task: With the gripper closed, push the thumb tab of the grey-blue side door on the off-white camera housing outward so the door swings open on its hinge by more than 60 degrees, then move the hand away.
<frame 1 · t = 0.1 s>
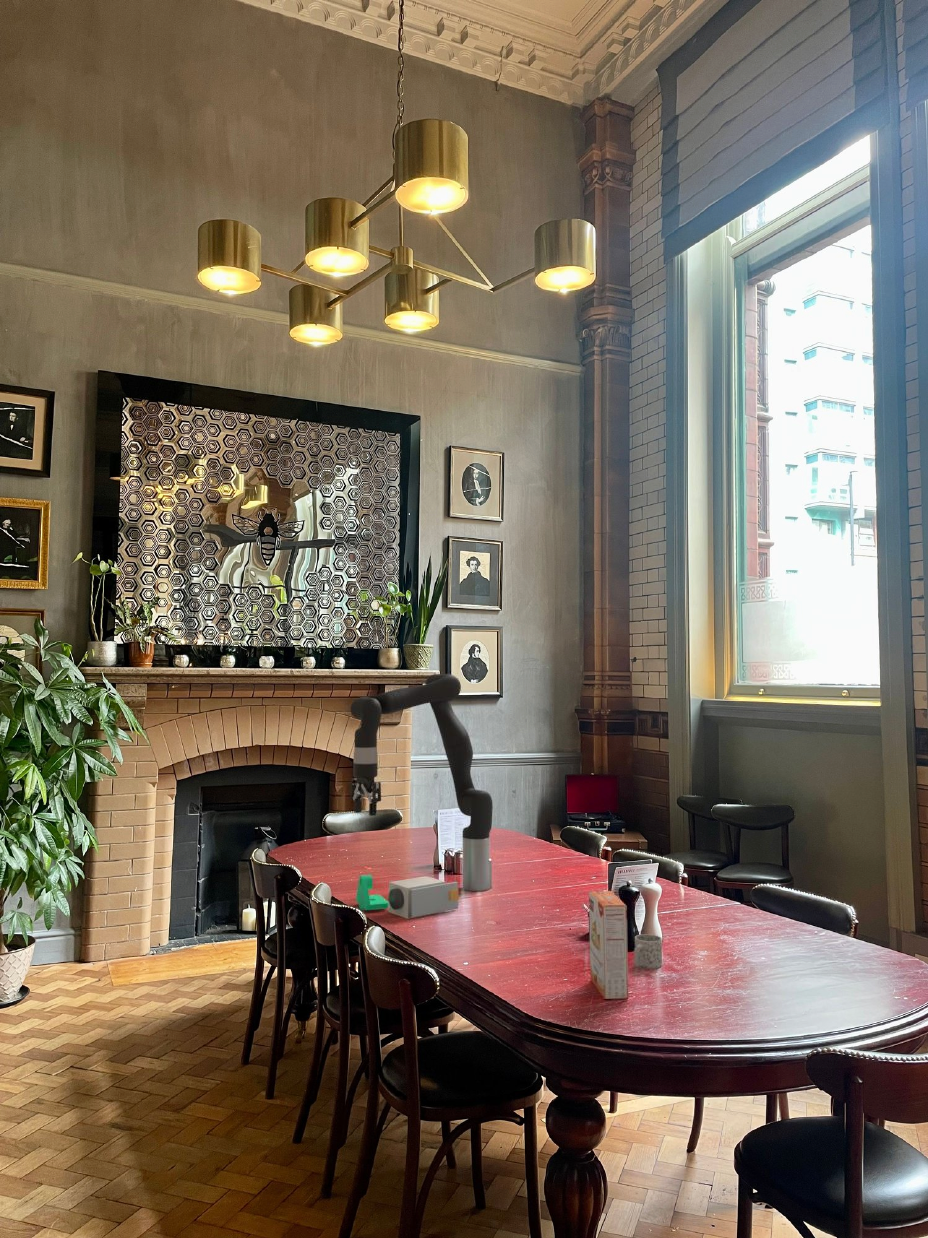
hand: (365, 814, 287), 29 cm above the table, tool pointing down, fingers open, 8 cm apart
camera housing: (417, 911, 282), on the table
mug: (645, 967, 229), on the table
side door: (434, 899, 279), point 4 cm above the table, hinge at 0.0°
cracker box: (608, 990, 211), on the table
camera mount: (372, 909, 287), on the table
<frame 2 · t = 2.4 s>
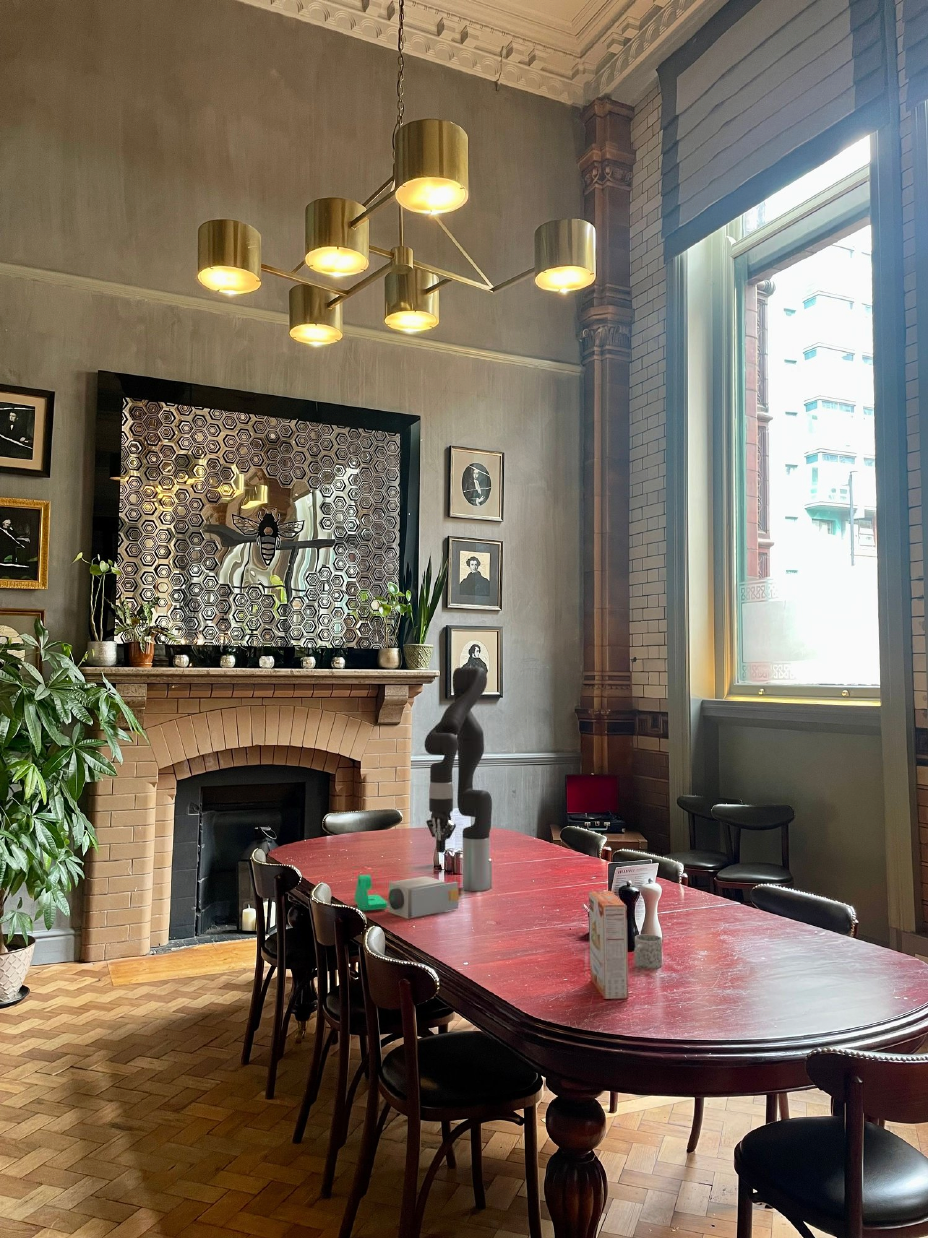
hand: (440, 852, 289), 17 cm above the table, tool pointing down, fingers closed
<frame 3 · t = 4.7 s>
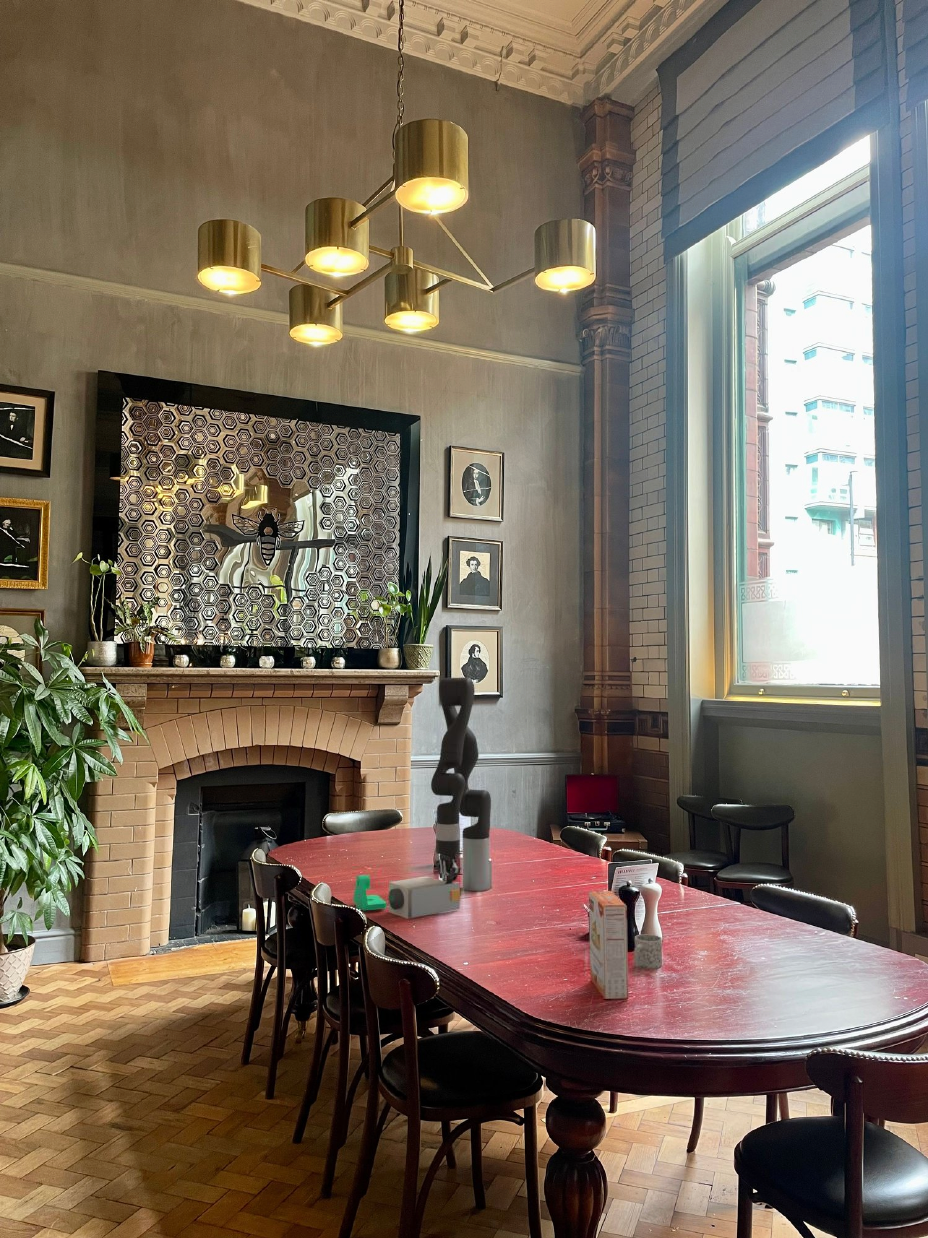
hand: (447, 894, 286), 5 cm above the table, tool pointing down, fingers closed
side door: (435, 900, 278), point 4 cm above the table, hinge at 2.6°, touching gripper
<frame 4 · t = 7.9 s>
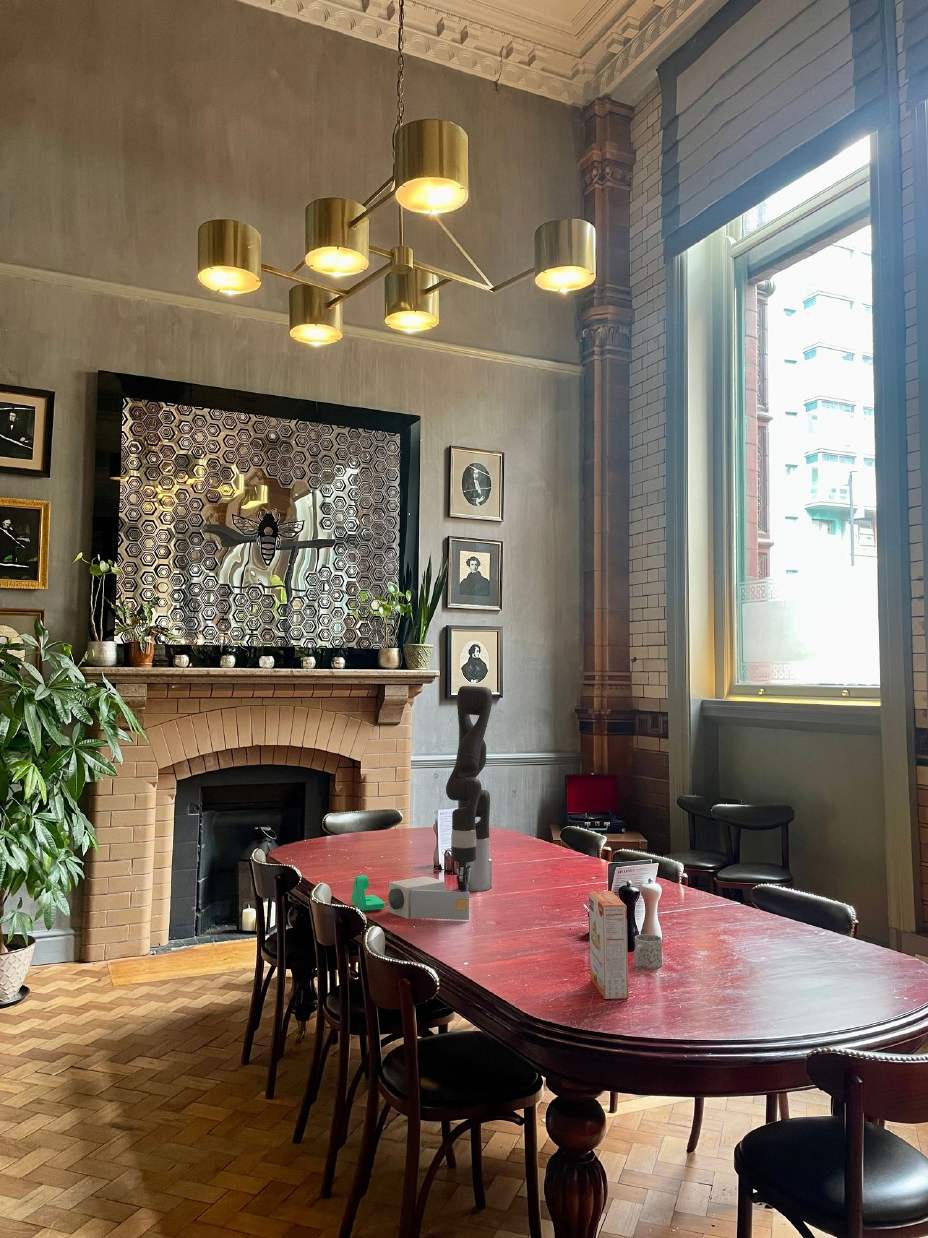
hand: (463, 902, 275), 5 cm above the table, tool pointing down, fingers closed
side door: (438, 905, 272), point 4 cm above the table, hinge at 47.5°, touching gripper
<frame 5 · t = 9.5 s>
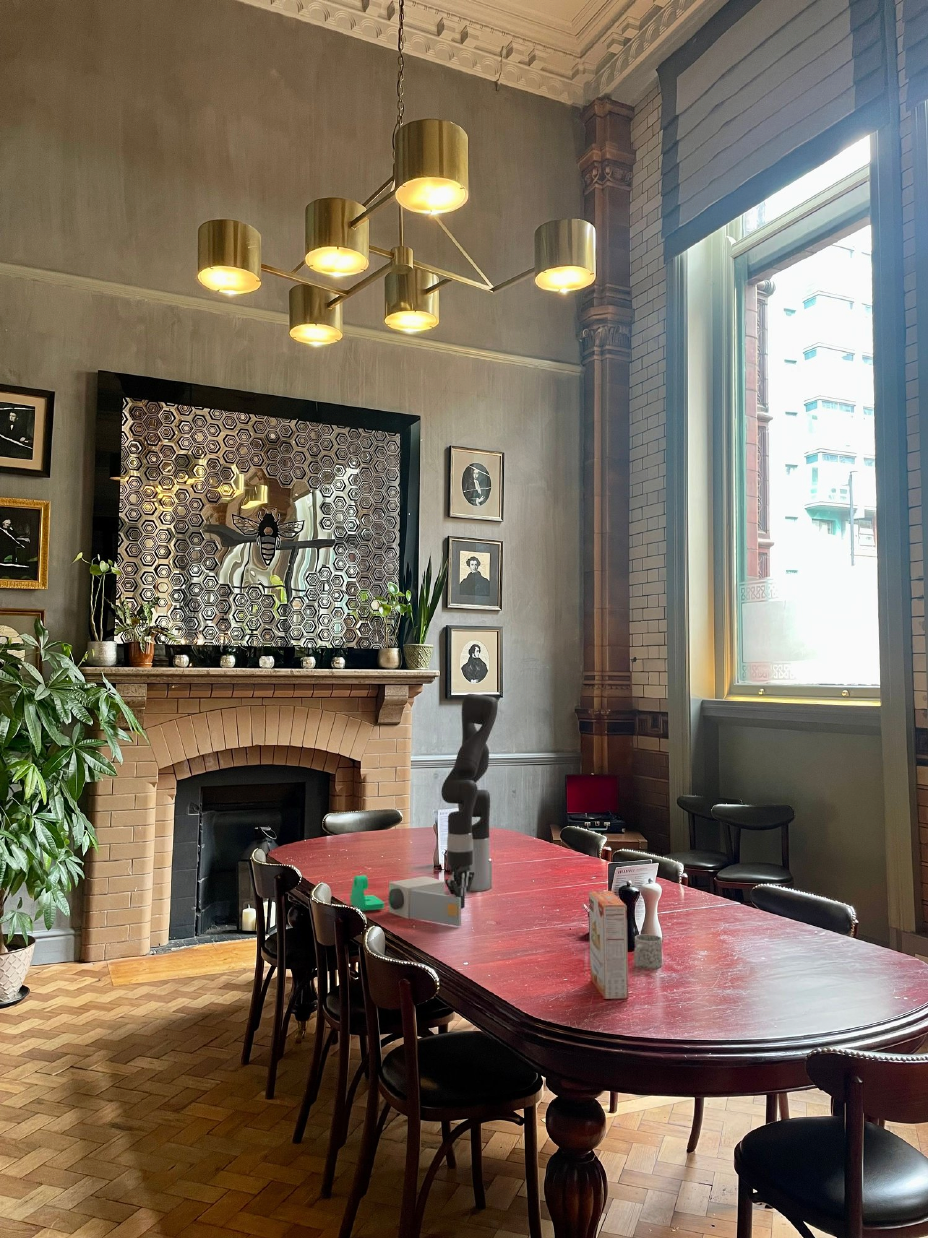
hand: (460, 908, 268), 5 cm above the table, tool pointing down, fingers closed
side door: (433, 908, 269), point 4 cm above the table, hinge at 71.8°, touching gripper
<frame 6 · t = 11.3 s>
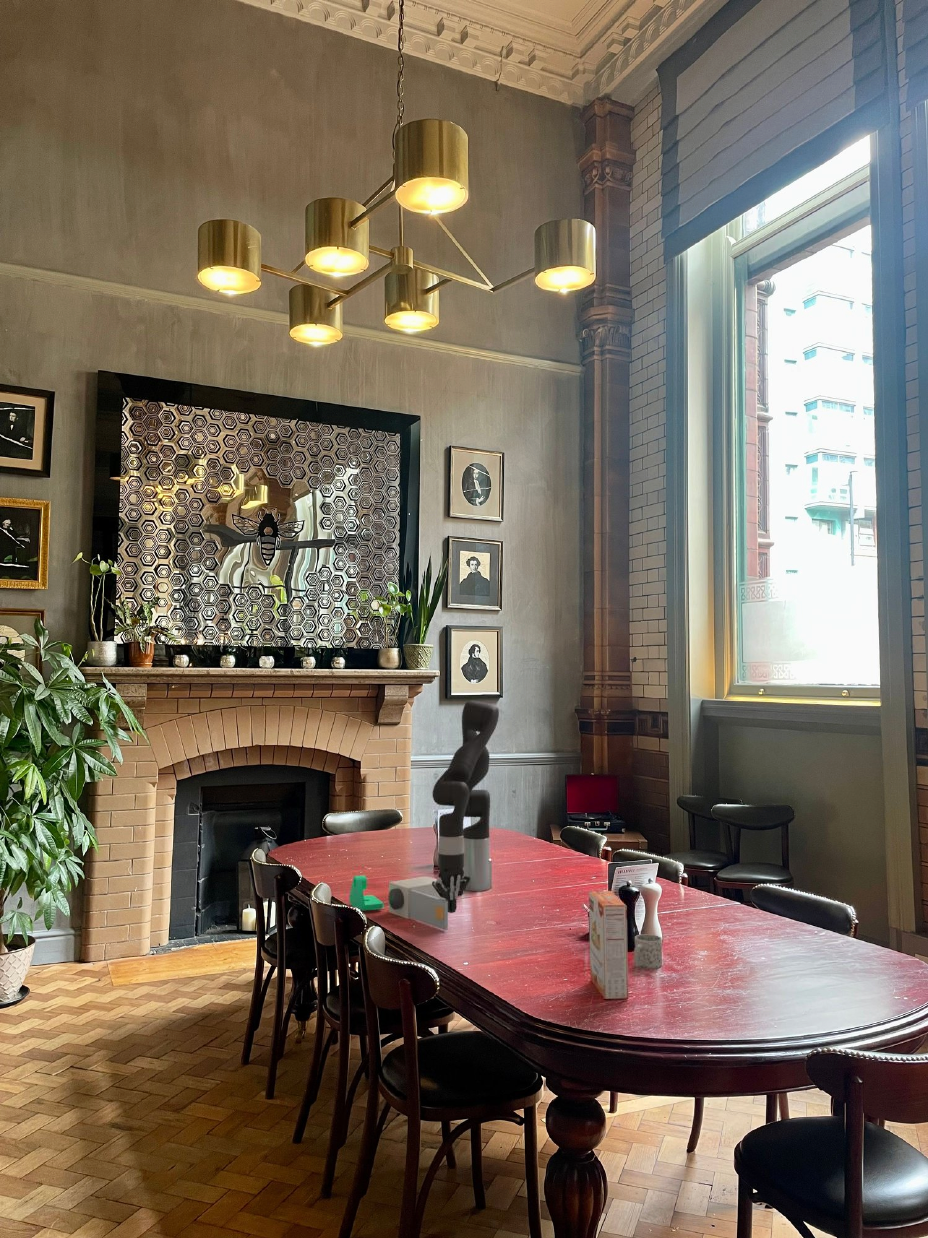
hand: (451, 912, 264), 5 cm above the table, tool pointing down, fingers closed
side door: (426, 909, 267), point 4 cm above the table, hinge at 90.5°, touching gripper
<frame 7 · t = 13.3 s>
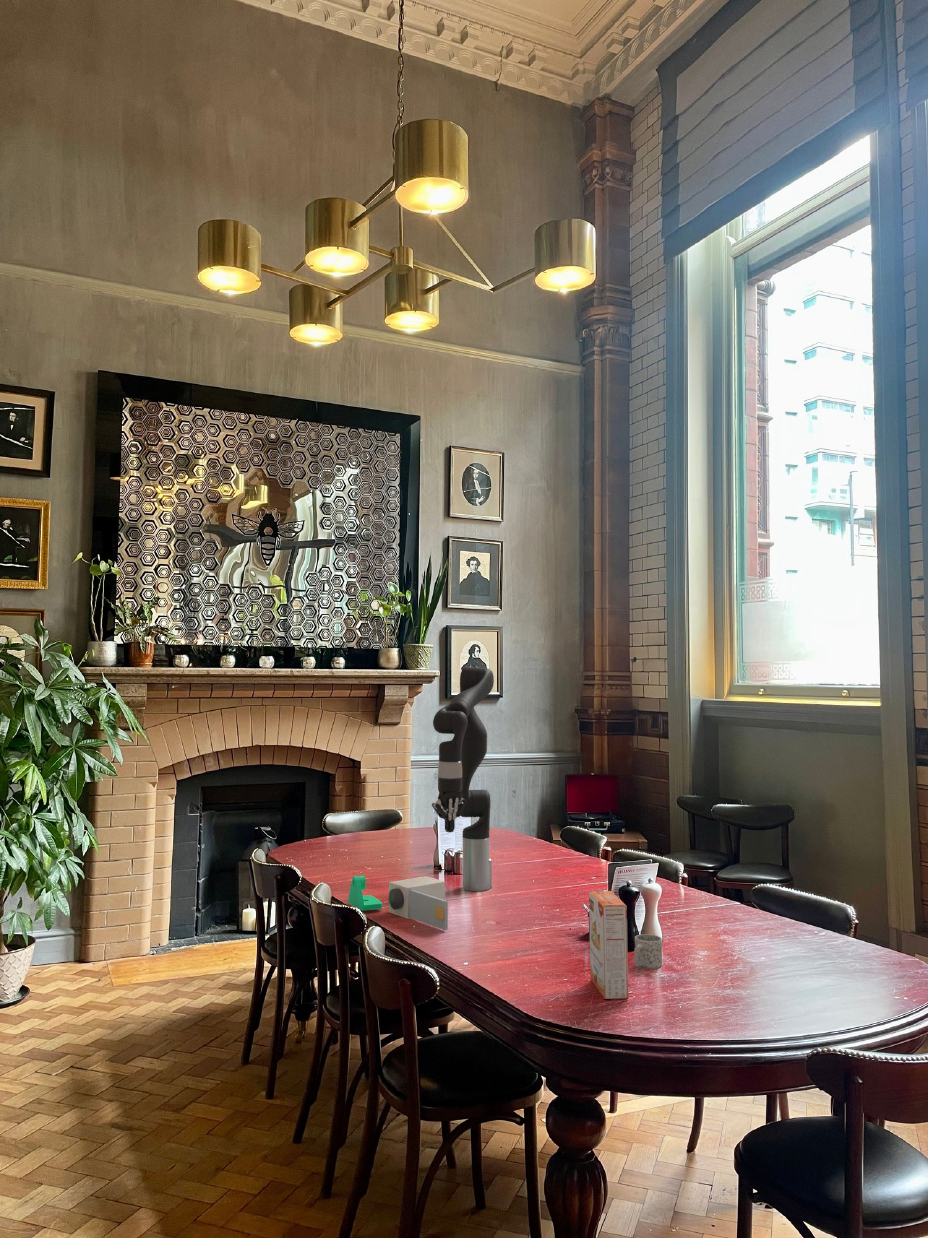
hand: (449, 831, 285), 24 cm above the table, tool pointing down, fingers closed
side door: (426, 909, 267), point 4 cm above the table, hinge at 90.5°
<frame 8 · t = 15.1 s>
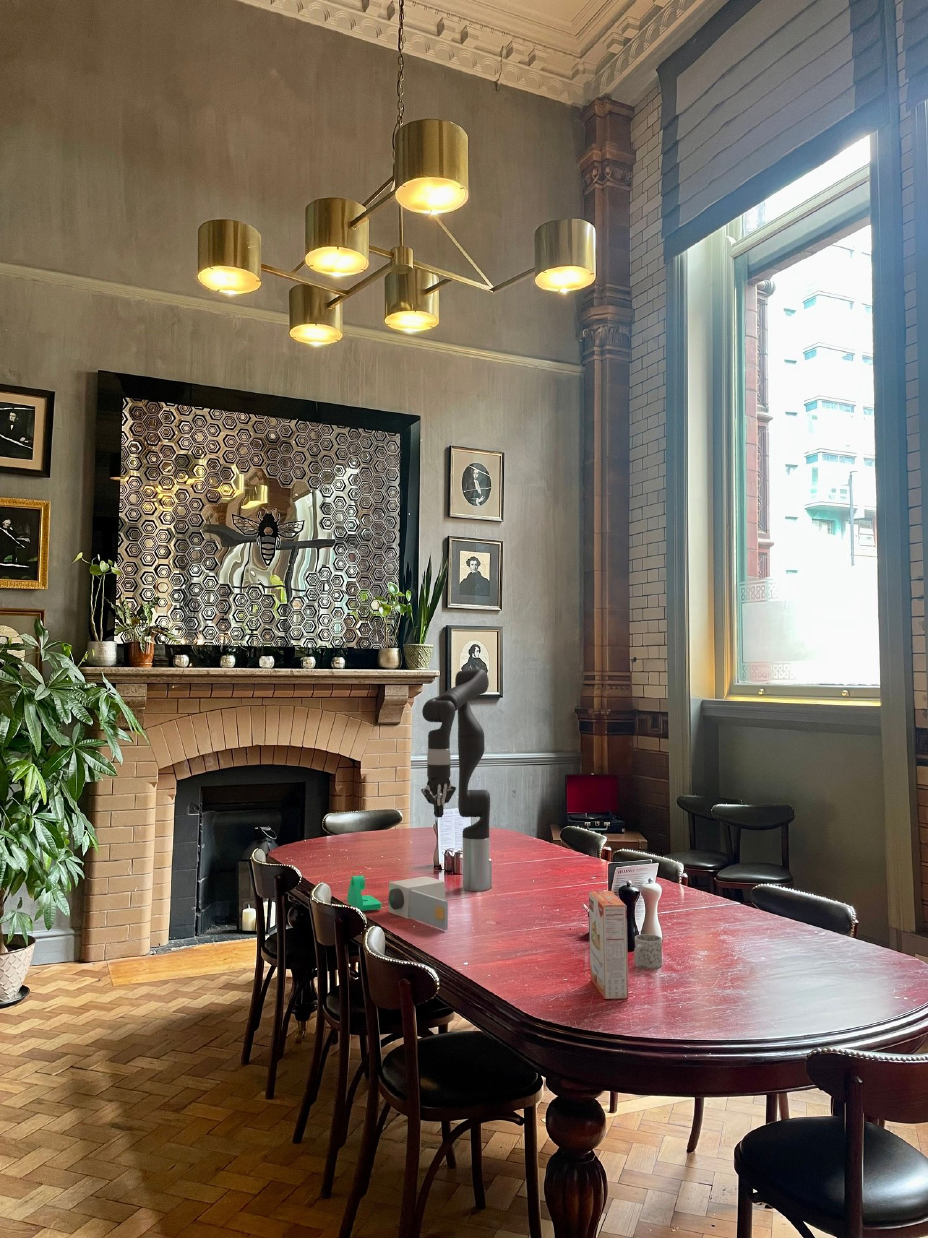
hand: (438, 817, 295), 27 cm above the table, tool pointing down, fingers closed
at the end: side door at +90° (first picture: +0°) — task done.
